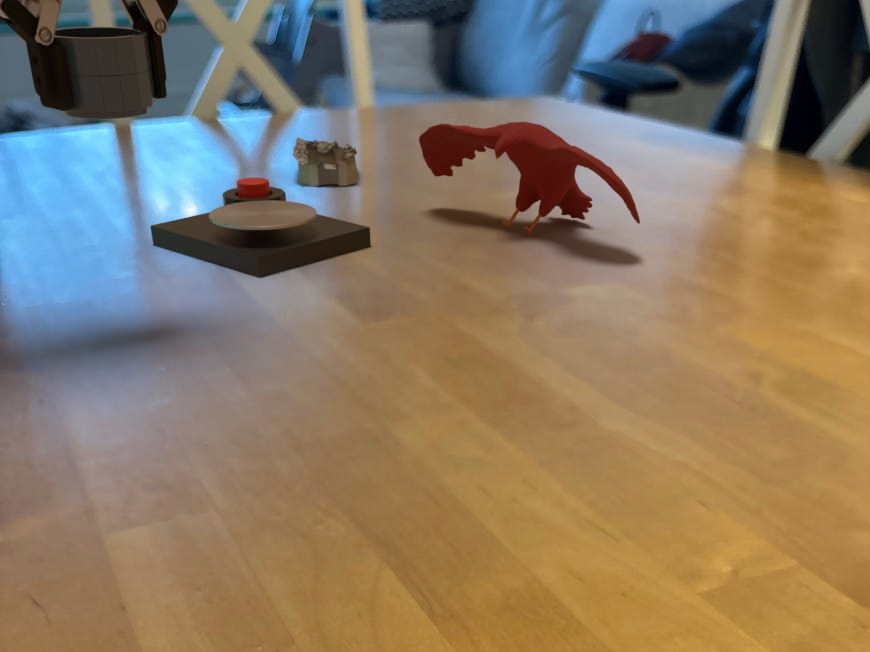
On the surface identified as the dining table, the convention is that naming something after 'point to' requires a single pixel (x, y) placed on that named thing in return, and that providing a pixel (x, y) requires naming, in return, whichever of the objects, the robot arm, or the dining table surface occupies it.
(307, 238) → the scale
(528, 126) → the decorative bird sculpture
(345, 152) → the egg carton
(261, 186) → the tare button
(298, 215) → the grey round platter
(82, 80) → the cylindrical container
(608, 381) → the dining table surface
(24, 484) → the dining table surface
